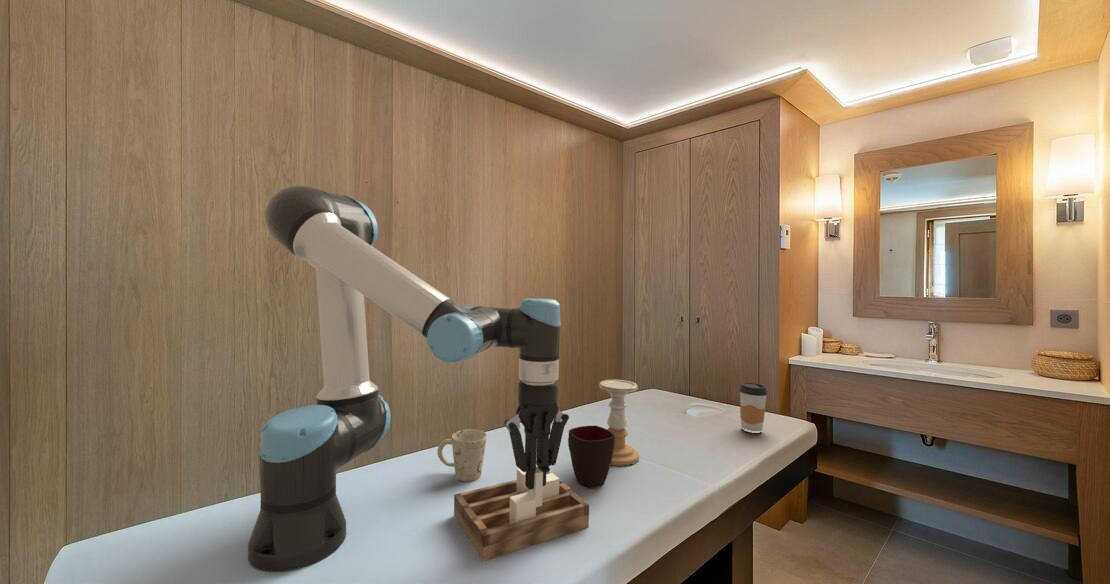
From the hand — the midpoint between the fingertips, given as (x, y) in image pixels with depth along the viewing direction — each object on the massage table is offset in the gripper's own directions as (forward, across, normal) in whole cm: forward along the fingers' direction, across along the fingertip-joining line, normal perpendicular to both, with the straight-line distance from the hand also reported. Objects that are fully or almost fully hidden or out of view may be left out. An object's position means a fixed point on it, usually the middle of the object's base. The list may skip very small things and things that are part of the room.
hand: (535, 503), depth 84 cm
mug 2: (+6, +22, +14) cm, 26 cm away
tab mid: (+3, +5, +5) cm, 8 cm away
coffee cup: (+6, +90, +16) cm, 91 cm away
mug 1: (+6, -4, +30) cm, 31 cm away
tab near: (+3, -3, 0) cm, 4 cm away
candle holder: (+6, +36, +21) cm, 42 cm away
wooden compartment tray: (+6, -1, +5) cm, 7 cm away
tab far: (+3, +4, +10) cm, 11 cm away
